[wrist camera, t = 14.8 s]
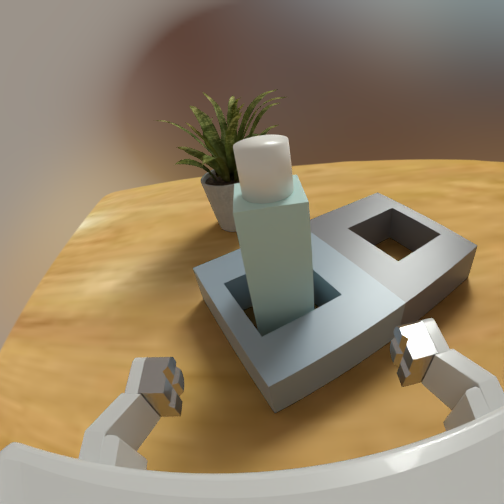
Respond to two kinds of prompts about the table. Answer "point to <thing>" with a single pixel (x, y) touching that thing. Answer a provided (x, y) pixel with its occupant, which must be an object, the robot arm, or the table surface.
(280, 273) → the plug
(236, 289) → the socket panel
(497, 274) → the table surface
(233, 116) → the house plant
